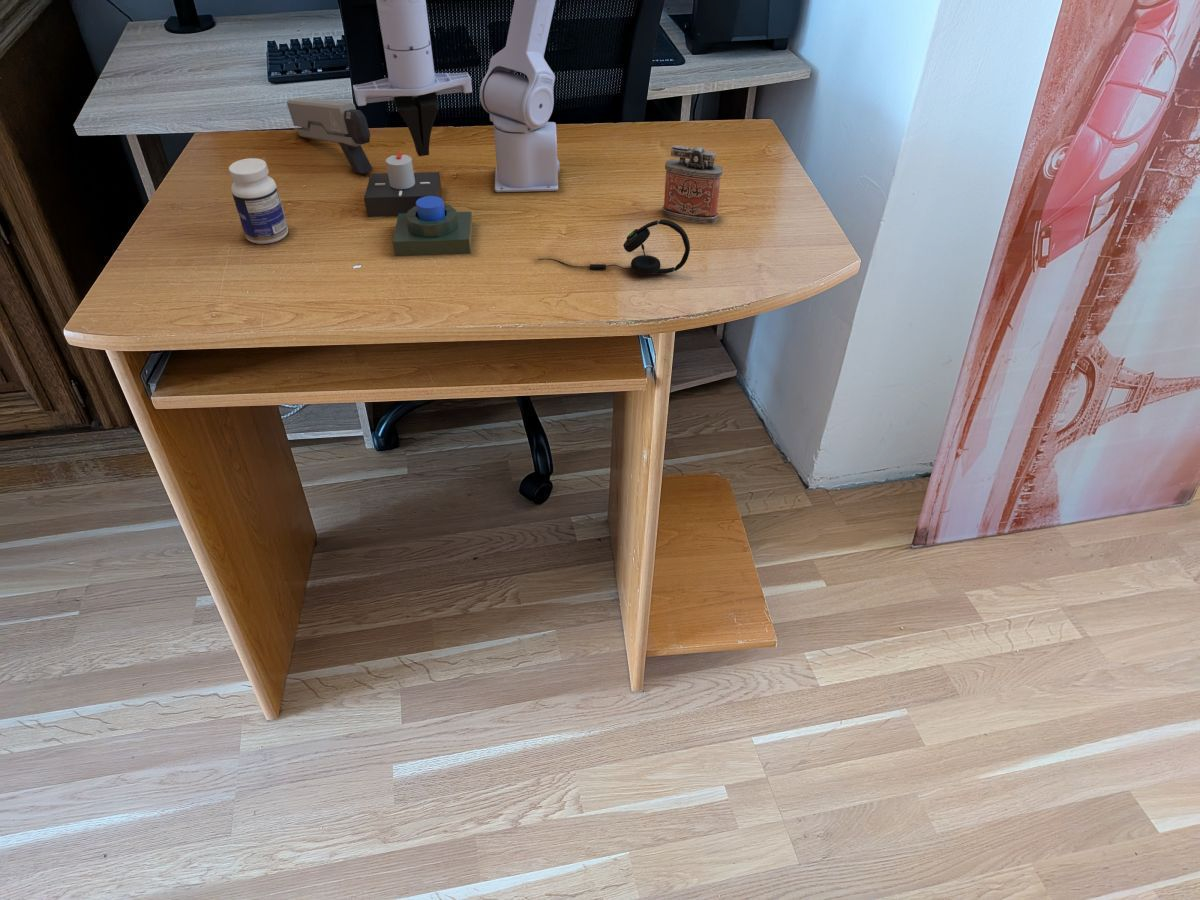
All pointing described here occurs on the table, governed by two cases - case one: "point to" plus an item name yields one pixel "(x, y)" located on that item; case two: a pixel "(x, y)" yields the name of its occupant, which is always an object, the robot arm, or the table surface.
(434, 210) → the power button
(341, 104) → the gun
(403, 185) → the dimmer knob
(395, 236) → the switch box
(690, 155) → the lighter
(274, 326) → the table surface
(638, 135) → the table surface
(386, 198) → the dimmer console
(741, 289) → the table surface
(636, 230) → the headset
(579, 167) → the table surface
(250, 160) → the pill bottle
